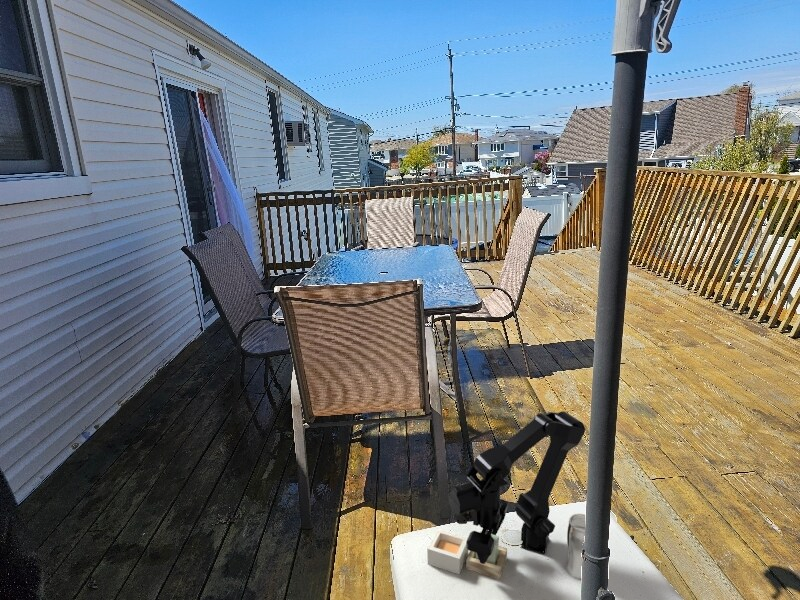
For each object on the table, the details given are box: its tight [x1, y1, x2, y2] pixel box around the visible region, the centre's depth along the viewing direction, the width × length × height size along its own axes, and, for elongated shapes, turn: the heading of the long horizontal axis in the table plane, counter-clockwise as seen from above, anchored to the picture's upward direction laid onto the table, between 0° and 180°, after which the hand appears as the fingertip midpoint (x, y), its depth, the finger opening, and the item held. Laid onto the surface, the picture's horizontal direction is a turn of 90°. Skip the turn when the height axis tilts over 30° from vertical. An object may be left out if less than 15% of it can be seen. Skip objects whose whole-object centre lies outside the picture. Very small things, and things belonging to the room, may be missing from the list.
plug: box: [475, 530, 500, 565], centre depth 133 cm, size 5×4×10 cm
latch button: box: [437, 540, 460, 554], centre depth 136 cm, size 6×5×1 cm
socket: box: [426, 528, 470, 575], centre depth 136 cm, size 9×8×5 cm
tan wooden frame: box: [465, 545, 508, 580], centre depth 134 cm, size 9×8×3 cm
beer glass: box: [565, 513, 586, 580], centre depth 129 cm, size 7×7×15 cm
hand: (487, 550), depth 134 cm, fingers open, 9 cm apart
